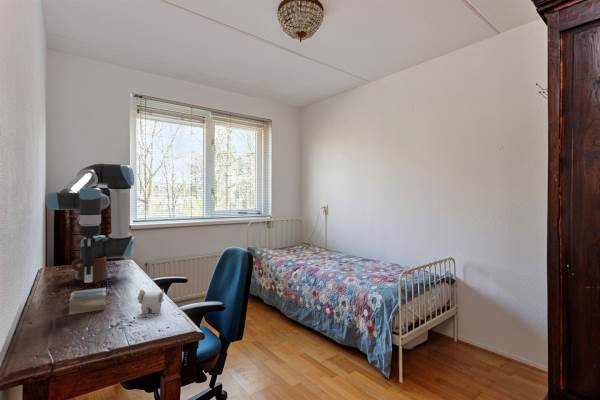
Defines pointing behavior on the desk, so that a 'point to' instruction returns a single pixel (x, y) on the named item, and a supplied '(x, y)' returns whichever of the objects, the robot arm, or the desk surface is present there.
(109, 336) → the desk surface
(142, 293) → the elephant figurine
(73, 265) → the mug
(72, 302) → the plinth
